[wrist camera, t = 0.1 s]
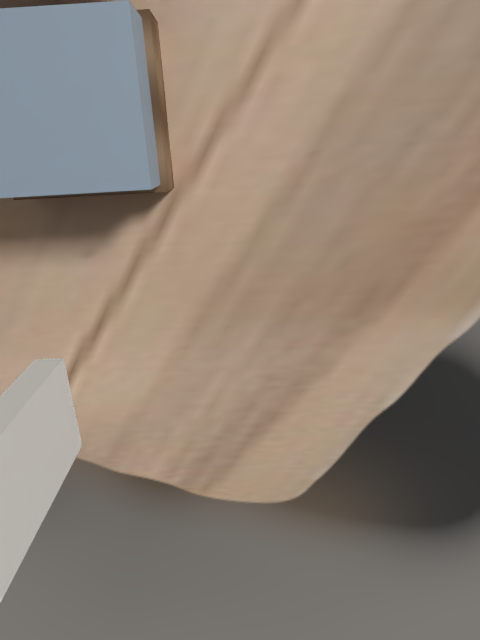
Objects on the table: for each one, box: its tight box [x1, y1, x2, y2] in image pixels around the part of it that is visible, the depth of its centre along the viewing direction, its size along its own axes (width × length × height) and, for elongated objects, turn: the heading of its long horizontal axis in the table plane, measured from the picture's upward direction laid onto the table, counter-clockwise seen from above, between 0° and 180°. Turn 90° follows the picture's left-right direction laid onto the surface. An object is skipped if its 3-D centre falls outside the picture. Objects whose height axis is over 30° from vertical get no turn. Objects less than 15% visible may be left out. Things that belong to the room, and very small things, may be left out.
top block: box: [0, 0, 160, 198], centre depth 31 cm, size 11×11×4 cm
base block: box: [13, 9, 174, 200], centre depth 35 cm, size 12×12×4 cm
